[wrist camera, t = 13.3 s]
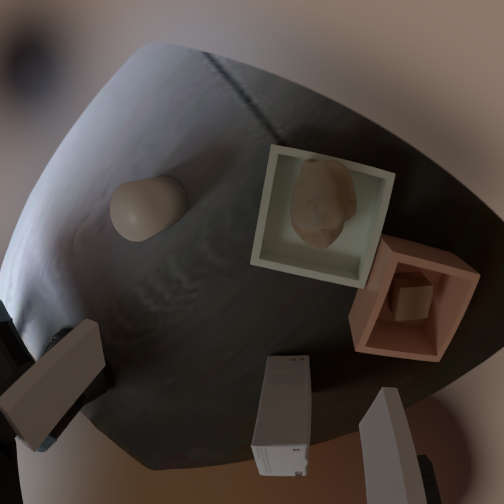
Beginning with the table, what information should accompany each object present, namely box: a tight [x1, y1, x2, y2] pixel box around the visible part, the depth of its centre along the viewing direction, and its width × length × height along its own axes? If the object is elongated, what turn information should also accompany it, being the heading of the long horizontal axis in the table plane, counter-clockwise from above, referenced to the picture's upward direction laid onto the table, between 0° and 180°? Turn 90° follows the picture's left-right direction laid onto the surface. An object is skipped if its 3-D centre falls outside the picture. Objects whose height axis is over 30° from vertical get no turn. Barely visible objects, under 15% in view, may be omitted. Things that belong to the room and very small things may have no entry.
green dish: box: [250, 144, 395, 289], centre depth 29 cm, size 12×12×3 cm
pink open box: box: [348, 233, 480, 362], centre depth 28 cm, size 11×11×7 cm
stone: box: [290, 159, 357, 249], centre depth 26 cm, size 7×6×8 cm
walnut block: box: [387, 271, 433, 321], centre depth 28 cm, size 4×4×4 cm
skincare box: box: [251, 355, 311, 476], centre depth 31 cm, size 8×6×15 cm
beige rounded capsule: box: [110, 176, 187, 242], centre depth 30 cm, size 6×6×7 cm
